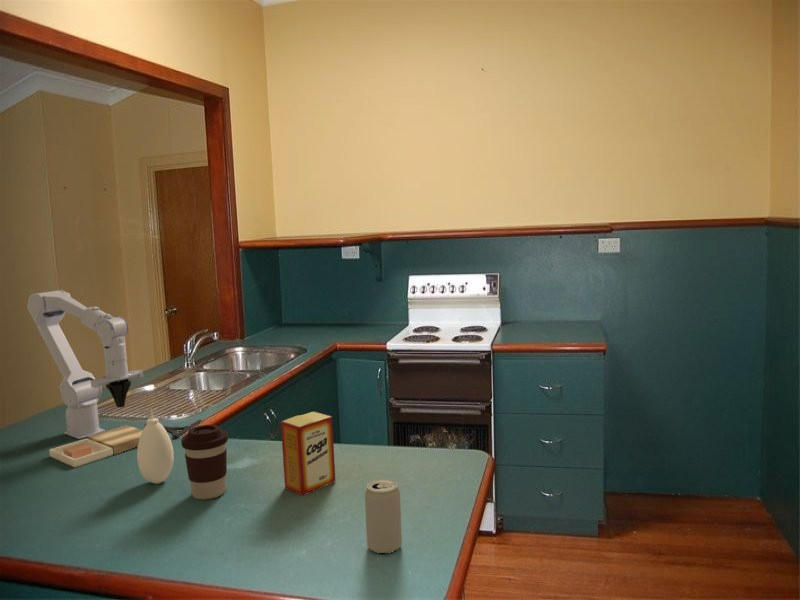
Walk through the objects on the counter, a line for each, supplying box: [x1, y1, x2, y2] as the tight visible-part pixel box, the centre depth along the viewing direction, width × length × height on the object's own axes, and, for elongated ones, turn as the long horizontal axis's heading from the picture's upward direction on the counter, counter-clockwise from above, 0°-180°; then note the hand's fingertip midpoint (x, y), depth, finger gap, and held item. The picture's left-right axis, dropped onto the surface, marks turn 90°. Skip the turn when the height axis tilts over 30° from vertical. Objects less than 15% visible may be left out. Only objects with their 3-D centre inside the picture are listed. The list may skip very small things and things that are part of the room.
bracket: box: [143, 419, 203, 439], centre depth 189 cm, size 14×15×3 cm
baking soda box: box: [280, 411, 336, 496], centre depth 145 cm, size 10×6×16 cm
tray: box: [48, 438, 114, 469], centre depth 170 cm, size 14×10×2 cm
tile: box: [63, 443, 92, 459], centre depth 169 cm, size 5×5×2 cm
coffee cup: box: [180, 424, 229, 501], centre depth 142 cm, size 10×10×15 cm
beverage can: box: [364, 478, 403, 554], centre depth 116 cm, size 6×6×12 cm
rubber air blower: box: [136, 408, 175, 485], centre depth 150 cm, size 8×8×18 cm
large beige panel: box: [87, 424, 143, 456], centre depth 179 cm, size 14×12×2 cm
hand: (120, 406), depth 182 cm, fingers closed
